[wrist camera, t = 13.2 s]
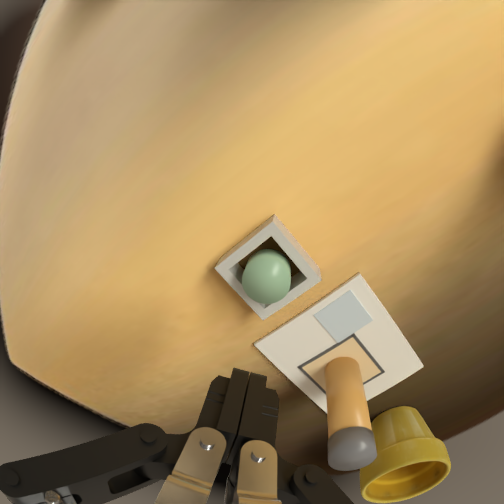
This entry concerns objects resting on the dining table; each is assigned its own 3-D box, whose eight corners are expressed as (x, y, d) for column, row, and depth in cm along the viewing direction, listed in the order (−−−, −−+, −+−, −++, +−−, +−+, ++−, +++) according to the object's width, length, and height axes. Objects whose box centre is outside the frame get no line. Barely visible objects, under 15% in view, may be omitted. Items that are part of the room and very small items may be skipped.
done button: (237, 266, 26) (231, 278, 23) (271, 239, 25) (269, 249, 22) (265, 297, 26) (263, 312, 24) (300, 273, 25) (300, 286, 23)
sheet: (254, 342, 30) (253, 345, 29) (359, 272, 26) (360, 274, 26) (332, 415, 32) (332, 419, 32) (422, 364, 29) (424, 367, 28)
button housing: (221, 257, 27) (214, 268, 25) (274, 213, 26) (272, 221, 23) (265, 306, 28) (263, 320, 26) (319, 268, 27) (321, 280, 24)
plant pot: (342, 445, 34) (346, 506, 25) (371, 393, 31) (386, 462, 22) (409, 445, 34) (422, 500, 24) (444, 395, 30) (469, 454, 21)
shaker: (316, 368, 30) (318, 458, 19) (348, 349, 28) (364, 440, 18) (335, 388, 30) (342, 474, 20) (366, 371, 29) (384, 458, 19)
